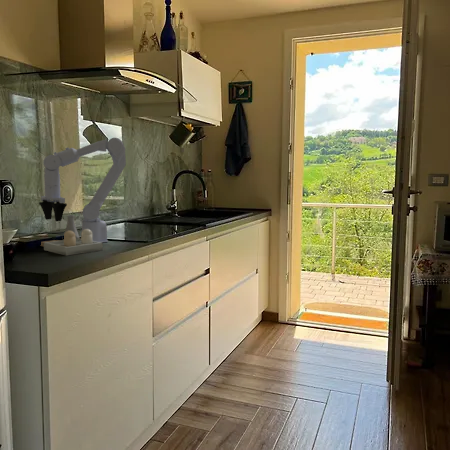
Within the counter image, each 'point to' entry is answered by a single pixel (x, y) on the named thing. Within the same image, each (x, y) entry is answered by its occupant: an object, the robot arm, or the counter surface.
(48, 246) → the white square tray shape
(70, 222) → the flask
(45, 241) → the egg stand
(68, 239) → the egg
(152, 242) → the counter surface
